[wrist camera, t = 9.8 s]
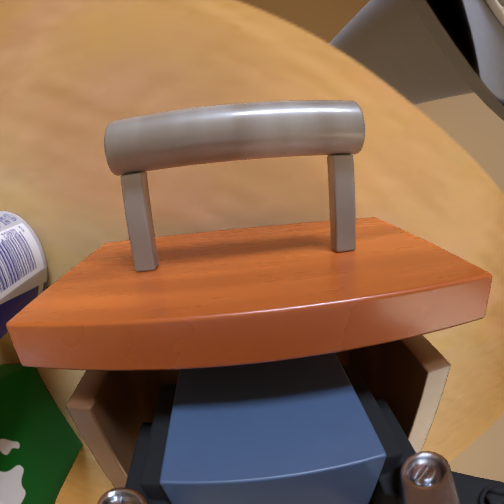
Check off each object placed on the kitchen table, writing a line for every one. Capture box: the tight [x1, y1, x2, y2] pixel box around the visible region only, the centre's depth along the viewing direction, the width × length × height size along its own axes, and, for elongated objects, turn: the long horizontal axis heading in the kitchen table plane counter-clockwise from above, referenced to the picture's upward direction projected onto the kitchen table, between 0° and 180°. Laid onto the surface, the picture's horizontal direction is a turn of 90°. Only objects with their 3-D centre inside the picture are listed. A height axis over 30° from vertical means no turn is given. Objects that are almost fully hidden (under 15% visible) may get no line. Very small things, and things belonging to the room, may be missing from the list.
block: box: [160, 353, 386, 504], centre depth 8 cm, size 4×4×4 cm
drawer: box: [6, 100, 492, 488], centre depth 11 cm, size 18×11×7 cm, turn 5°
